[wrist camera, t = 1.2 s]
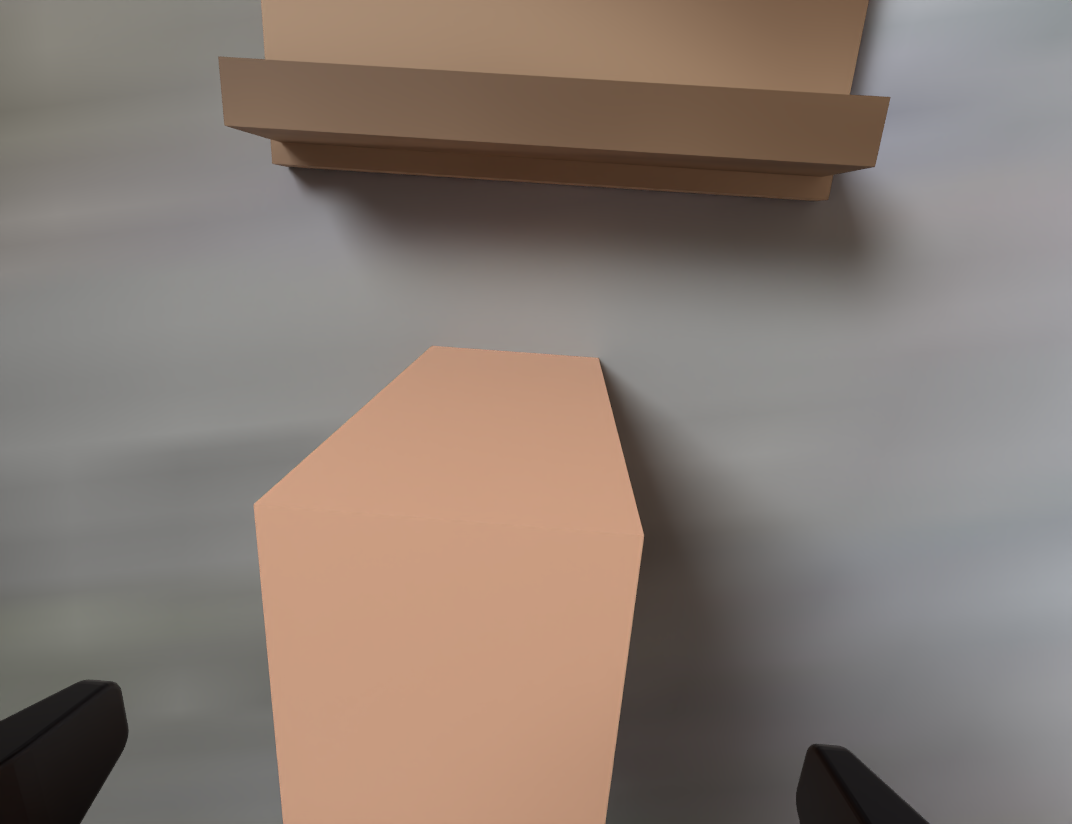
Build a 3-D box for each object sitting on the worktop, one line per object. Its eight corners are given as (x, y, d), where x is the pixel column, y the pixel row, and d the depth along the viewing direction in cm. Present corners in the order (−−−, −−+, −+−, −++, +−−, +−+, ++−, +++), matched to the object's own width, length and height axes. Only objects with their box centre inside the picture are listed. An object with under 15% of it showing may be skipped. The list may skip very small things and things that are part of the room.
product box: (572, 618, 15) (580, 1004, 8) (422, 605, 15) (282, 974, 8) (598, 358, 13) (644, 536, 6) (422, 345, 13) (233, 503, 6)
